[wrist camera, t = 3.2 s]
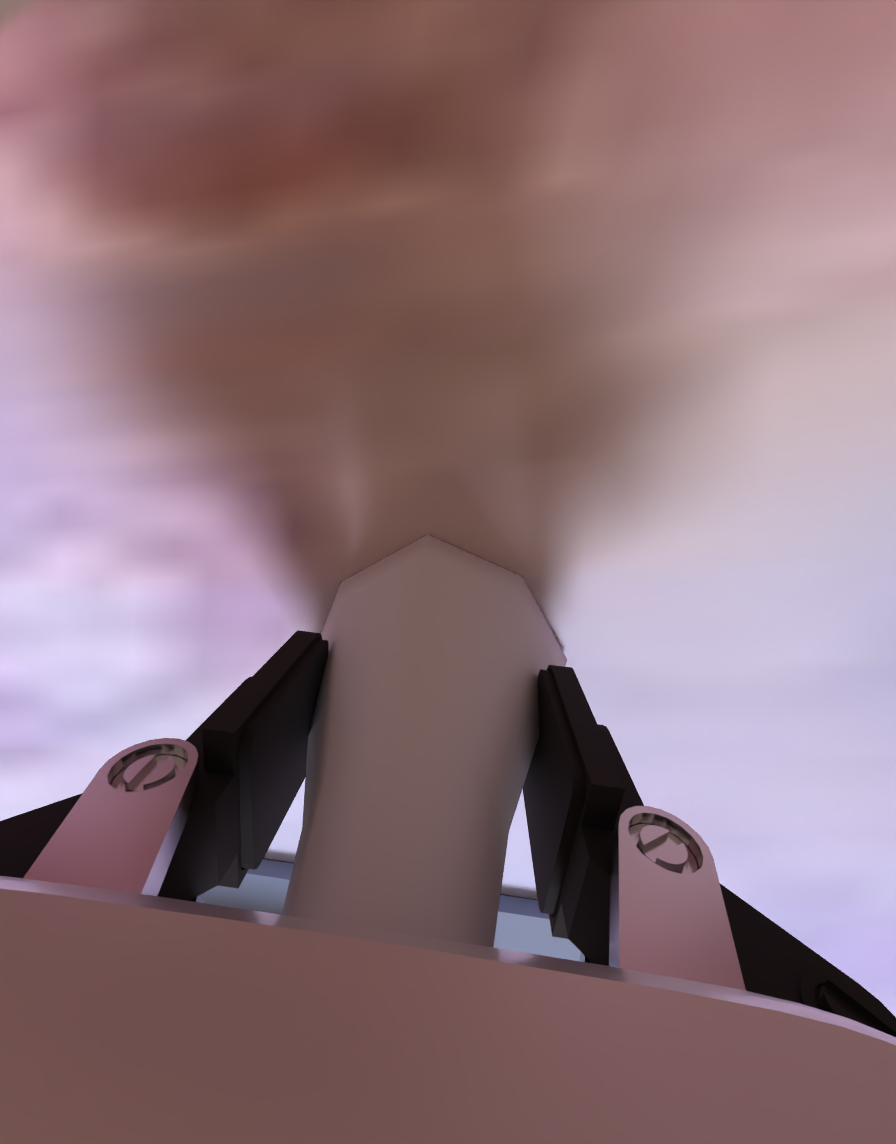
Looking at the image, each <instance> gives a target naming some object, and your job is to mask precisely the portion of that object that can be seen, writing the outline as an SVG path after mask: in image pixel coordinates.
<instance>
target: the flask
mask: <svg viewBox="0 0 896 1144" xmlns="http://www.w3.org/2000/svg"><path fill="white" fill-rule="evenodd" d="M321 635H322V640H328V643H329V652H328V658H327V662H326V666H325V670H324V674H323V678H322V682H321V686H320V690H319V695H318V699H317V703H316V707H315V711H314V715H313V719H312V723H311V727H310V731H309V735H308V748H307V764H306V780H305V795H304V811H303V827H302V832H301V836H300V840H299V844H298V848H297V852H296V856H295V861H294V865H293V869H292V873H291V877H290V881H289V885H288V889H287V893H286V897H285V901H284V905H283V909H282V914H281V915H287V916H293V917H300V918H306V919H313V920H319V921H326V922H332V923H339V924H345V925H352V926H358V927H365V928H372V929H378V930H384V931H391V932H397V933H404V934H410V935H417V936H423V937H430V938H436V939H442V940H449V941H455V942H462V943H468V944H474V945H481V946H487V947H494V939H495V932H496V924H497V917H498V909H499V901H500V894H501V886H502V879H503V871H504V863H505V856H506V848H507V840H508V833H509V829H510V826H511V823H512V819H513V816H514V813H515V810H516V807H517V804H518V801H519V798H520V794H521V791H522V788H523V785H524V782H525V779H526V776H527V773H528V769H529V766H530V763H531V760H532V757H533V754H534V751H535V748H536V744H537V741H538V738H539V735H540V733H539V704H538V674H539V671H540V669H543V670H547V667H548V666H549V665H556V666H563V667H565V665H566V662H567V659H566V657H565V655H564V653H563V651H562V649H561V647H560V646H559V644H558V642H557V640H556V638H555V636H554V634H553V632H552V631H551V629H550V627H549V625H548V623H547V621H546V619H545V618H544V616H543V614H542V612H541V610H540V608H539V606H538V605H537V603H536V601H535V599H534V597H533V595H532V593H531V592H530V590H529V588H528V586H527V584H526V582H525V580H524V578H523V577H522V576H520V575H518V574H515V573H513V572H511V571H509V570H506V569H504V568H502V567H500V566H497V565H495V564H493V563H491V562H488V561H486V560H484V559H482V558H479V557H477V556H475V555H473V554H470V553H468V552H466V551H464V550H461V549H459V548H457V547H455V546H452V545H450V544H448V543H446V542H443V541H441V540H439V539H437V538H434V537H432V536H430V535H428V534H427V535H425V536H424V537H422V538H420V539H418V540H416V541H414V542H413V543H411V544H409V545H407V546H405V547H404V548H402V549H400V550H398V551H396V552H394V553H393V554H391V555H389V556H387V557H385V558H384V559H382V560H380V561H378V562H376V563H374V564H373V565H371V566H369V567H367V568H365V569H364V570H362V571H360V572H358V573H356V574H354V575H353V576H351V577H349V578H347V579H345V580H343V581H342V582H341V583H340V586H339V588H338V591H337V593H336V596H335V599H334V601H333V604H332V606H331V609H330V612H329V614H328V617H327V619H326V622H325V625H324V627H323V630H322V632H321Z"/></svg>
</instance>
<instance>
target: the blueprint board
mask: <svg viewBox="0 0 896 1144" xmlns="http://www.w3.org/2000/svg"><path fill="white" fill-rule="evenodd" d="M293 865H294V864H293V863H286V862H280V861H273V860H266V859H263V860H262V862H261V864H260V865H259V867H258V868H257V869H255V870H253V869H249V870H248V872H247V873H246V875H245V877H244V879H243V881H242V883H241V885H240V886H239V888H238V889H237V888H231V887H224V886H216V887H214V888H212V889H210V890H208V891H207V892H206V893H205V900H204V903H206V904H212V905H219V906H226V907H233V908H240V909H246V910H253V911H260V912H267V913H273V914H280V915H281V914H282V909H283V905H284V901H285V897H286V893H287V889H288V885H289V881H290V877H291V873H292V869H293ZM493 948H499V949H506V950H512V951H518V952H524V953H530V954H537V955H543V956H549V957H555V958H562V959H568V960H574V961H580V954H581V951H580V950H579V949H578V948H577V947H576V946H575V945H574V944H573V943H572V942H571V941H570V940H569V939H565V938H558V937H552V932H551V926H550V919H549V914H544V913H541V912H540V910H539V905H538V900H532V899H526V898H519V897H512V896H506V895H500V901H499V909H498V917H497V924H496V932H495V939H494V947H493Z"/></svg>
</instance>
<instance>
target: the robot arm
mask: <svg viewBox="0 0 896 1144" xmlns="http://www.w3.org/2000/svg"><path fill="white" fill-rule="evenodd" d="M328 652H329V643H328V640H322V635H321V634H320V633H313V632H305V631H297V632H295V634H294V635H293V636H292V637H291V638H290V639H289V640H288V641H287V642H286V643H285V644H284V645H283V646H282V647H281V648H280V649H279V650H278V651H277V652H276V653H275V654H274V655H273V656H272V657H271V658H270V659H269V660H268V661H267V662H266V663H265V664H264V665H263V666H262V667H261V668H260V669H259V670H258V671H257V673H256V674H255V675H254V676H253V677H249V678H248V679H246V680H245V681H244V682H243V683H242V684H241V685H240V686H239V687H238V688H237V689H236V690H235V691H234V692H233V693H232V694H231V695H230V696H229V697H228V698H227V699H226V700H225V701H224V702H223V703H222V704H221V705H220V706H219V707H218V708H217V709H216V710H215V711H214V712H213V713H212V714H211V715H210V716H209V717H208V718H207V719H206V720H205V721H204V722H203V723H202V724H201V725H200V726H199V727H198V728H197V729H196V730H195V732H194V733H193V734H192V735H191V736H190V737H189V738H188V739H187V740H186V741H185V740H181V739H175V738H162V739H155V740H149V741H146V742H142V743H139V744H136V745H133V746H131V747H129V748H127V749H125V750H123V751H121V752H119V753H118V754H116V755H115V756H113V757H112V758H111V759H109V760H108V761H107V762H106V763H105V764H104V765H103V766H102V767H101V768H100V770H99V771H98V772H97V774H96V775H95V777H94V778H93V780H92V781H91V782H90V784H89V785H88V787H87V788H86V790H85V791H84V792H83V793H82V794H79V795H76V796H73V797H70V798H67V799H64V800H61V801H58V802H56V803H53V804H50V805H47V806H44V807H41V808H38V809H35V810H32V811H29V812H26V813H23V814H20V815H17V816H14V817H11V818H8V819H6V820H3V821H0V1144H896V1017H895V1016H894V1015H893V1014H892V1013H891V1012H890V1011H889V1010H888V1009H887V1008H886V1007H885V1006H884V1005H883V1004H882V1003H881V1002H880V1001H879V1000H878V999H877V998H875V997H874V996H873V995H872V994H871V993H869V992H868V991H867V990H866V989H864V988H863V987H862V986H861V985H860V984H858V983H857V982H856V981H854V980H853V979H851V978H850V977H849V976H847V975H846V974H844V973H843V972H842V971H840V970H839V969H838V968H836V967H835V966H833V965H832V964H831V963H829V962H828V961H826V960H825V959H824V958H822V957H821V956H820V955H818V954H817V953H815V952H814V951H813V950H811V949H810V948H808V947H807V946H806V945H804V944H803V943H802V942H800V941H799V940H797V939H796V938H795V937H793V936H792V935H790V934H789V933H788V932H786V931H785V930H784V929H782V928H781V927H779V926H778V925H777V924H775V923H774V922H772V921H771V920H770V919H768V918H767V917H766V916H764V915H763V914H761V913H760V912H759V911H757V910H756V909H754V908H753V907H752V906H750V905H749V904H748V903H746V902H745V901H743V900H742V899H741V898H739V897H738V896H736V895H735V894H734V893H732V892H731V891H730V890H728V889H727V888H725V887H724V886H723V885H721V884H720V883H719V880H718V876H717V872H716V867H715V863H714V859H713V857H712V855H711V852H710V850H709V847H708V846H707V845H706V843H705V842H704V841H703V839H702V838H701V837H700V835H699V834H698V833H697V832H695V831H694V830H693V829H692V828H691V827H690V826H689V825H688V824H686V823H685V822H683V821H682V820H680V819H679V818H677V817H676V816H674V815H672V814H670V813H668V812H665V811H663V810H661V809H657V808H653V807H649V806H644V805H643V803H642V800H641V798H640V796H639V794H638V792H637V790H636V788H635V785H634V783H633V781H632V779H631V777H630V775H629V773H628V770H627V768H626V766H625V764H624V762H623V760H622V758H621V755H620V753H619V751H618V749H617V747H616V745H615V743H614V741H613V738H612V736H611V734H610V732H609V730H608V729H607V727H606V726H604V725H598V724H597V723H596V720H595V718H594V716H593V714H592V711H591V709H590V707H589V704H588V702H587V700H586V697H585V695H584V693H583V691H582V688H581V686H580V684H579V681H578V679H577V677H576V675H575V672H574V670H573V668H571V667H563V666H556V665H549V666H548V667H547V670H543V669H540V671H539V674H538V704H539V733H540V735H539V738H538V741H537V744H536V748H535V751H534V754H533V757H532V760H531V763H530V766H529V769H528V773H527V776H526V779H525V782H524V785H523V794H524V802H525V809H526V817H527V824H528V831H529V839H530V846H531V853H532V861H533V868H534V876H535V883H536V890H537V898H538V905H539V910H540V912H541V913H544V914H549V919H550V926H551V932H552V937H558V938H565V939H569V940H570V941H571V942H572V943H573V944H574V945H575V946H576V947H577V948H578V949H579V950H580V951H581V954H580V961H574V960H568V959H562V958H555V957H549V956H543V955H537V954H530V953H524V952H518V951H512V950H506V949H499V948H493V947H487V946H481V945H474V944H468V943H462V942H455V941H449V940H442V939H436V938H430V937H423V936H417V935H410V934H404V933H397V932H391V931H384V930H378V929H372V928H365V927H358V926H352V925H345V924H339V923H332V922H326V921H319V920H313V919H306V918H300V917H293V916H287V915H280V914H273V913H267V912H260V911H253V910H246V909H240V908H233V907H226V906H219V905H212V904H206V903H204V900H205V893H206V892H207V891H208V890H210V889H212V888H214V887H216V886H224V887H231V888H237V889H238V888H239V886H240V885H241V883H242V881H243V879H244V877H245V875H246V873H247V872H248V870H249V869H253V870H255V869H257V868H258V867H259V865H260V864H261V862H262V860H263V858H264V856H265V854H266V852H267V850H268V848H269V846H270V844H271V842H272V841H273V839H274V837H275V835H276V833H277V831H278V829H279V827H280V825H281V823H282V821H283V819H284V817H285V815H286V813H287V812H288V810H289V808H290V806H291V804H292V802H293V800H294V798H295V796H296V794H297V792H298V790H299V788H300V786H301V784H302V783H303V781H304V779H305V777H306V764H307V748H308V735H309V731H310V727H311V723H312V719H313V715H314V711H315V707H316V703H317V699H318V695H319V690H320V686H321V682H322V678H323V674H324V670H325V666H326V662H327V658H328Z"/></svg>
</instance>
